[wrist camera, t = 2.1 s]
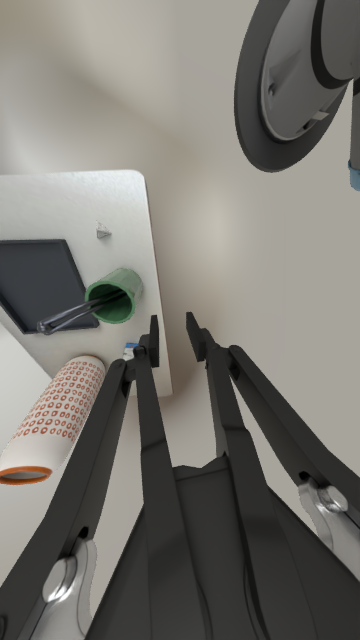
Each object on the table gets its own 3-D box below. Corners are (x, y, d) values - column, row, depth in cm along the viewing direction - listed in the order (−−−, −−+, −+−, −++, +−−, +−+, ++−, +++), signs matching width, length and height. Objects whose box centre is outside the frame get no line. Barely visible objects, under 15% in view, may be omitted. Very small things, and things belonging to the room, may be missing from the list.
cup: (111, 263, 33) (84, 273, 21) (145, 274, 36) (138, 289, 24) (108, 294, 37) (84, 318, 25) (139, 302, 40) (131, 327, 28)
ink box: (125, 352, 49) (117, 380, 39) (126, 342, 46) (118, 369, 36) (148, 354, 51) (146, 381, 41) (150, 344, 49) (148, 370, 39)
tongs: (95, 282, 34) (29, 324, 17) (138, 280, 36) (119, 318, 18) (98, 290, 35) (39, 338, 18) (139, 288, 37) (123, 331, 19)
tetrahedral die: (110, 241, 32) (111, 242, 30) (97, 237, 30) (97, 238, 28) (110, 224, 30) (111, 224, 28) (96, 220, 29) (96, 219, 26)
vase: (90, 344, 45) (11, 461, 21) (116, 366, 52) (79, 472, 28) (60, 360, 46) (-47, 485, 22) (89, 379, 53) (31, 490, 29)
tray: (-38, 241, 27) (-52, 241, 26) (65, 239, 30) (59, 239, 28) (29, 330, 39) (23, 334, 37) (99, 324, 41) (97, 327, 40)
